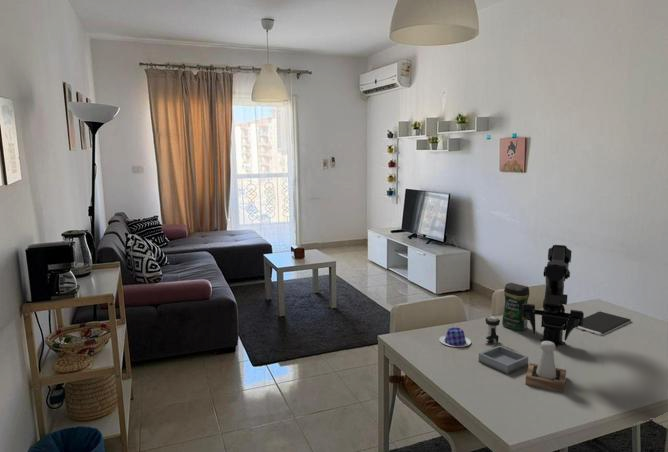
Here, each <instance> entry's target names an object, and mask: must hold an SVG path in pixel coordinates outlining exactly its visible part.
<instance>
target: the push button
mask: <svg viewBox="0 0 668 452" xmlns="http://www.w3.org/2000/svg"><path fill="white" fill-rule="evenodd" d="M500 323H501V320H500V319H499V317H497V316H496V315H489V316H487V317H486V318H485V324H486V325H488V329H487V330H488V331H487V335H486V336H485V339H484V340H483V341H484V344H488V345H491V344H496V343H498V342H499V338H500V337H499V335H498V334H497V327H498V326H499V325H500Z"/></svg>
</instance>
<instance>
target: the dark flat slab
mask: <svg viewBox="0 0 668 452" xmlns="http://www.w3.org/2000/svg"><path fill="white" fill-rule="evenodd" d="M631 322H632V320H631V318H627V317H624V316H621V315H616V314H612V313H609V312H605V311H601V310H600V311H599V310H598V311H597V312H595V313H592V314H590V315H588V316H586V317H585V316H584V319H583V325H582V326H579V325H578V327H575V328H574V329H576V330H578V331H579V330H580V331H585V332H586V333H589V334H593V335H597V336H600V337H601V336H604V335H606V334H608V333H611V332H613V331H615V330H616V329H617V330H618V329H620V328H621V327H623V326H625V325H628V324H629V323H631Z"/></svg>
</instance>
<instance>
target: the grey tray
mask: <svg viewBox="0 0 668 452" xmlns="http://www.w3.org/2000/svg"><path fill="white" fill-rule="evenodd" d="M478 362H479V363H480V364H483V365H485V366H487V367H490V368H492V369H494V370H497V371H499V372H501V373H504V374H506V375H509V374H511V373H513V372H515V371H518V370H520V369H522V368H525V367H526V366H529V356H527V355H525V354H522V353H520V352H517V351H515V350H513V349H509V348H507V347H505V346H502V345H497V346H495V347H492V348H490V349H486V350H484V351H482V352H480V353H478Z"/></svg>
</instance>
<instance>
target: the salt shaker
mask: <svg viewBox="0 0 668 452" xmlns="http://www.w3.org/2000/svg"><path fill="white" fill-rule="evenodd" d="M556 347H557V346H555V344H554V343H553V342H551V341H540V349H541V350H542V351H541V354H540V358H539V362H538V367H537V371H536V373H535V374H536V377H539V378H544V379H549V380H554V381H556V380H555V379H556V378H557V377H556V370H555V368H556V364H555V355H554V352H555V351H556Z"/></svg>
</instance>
